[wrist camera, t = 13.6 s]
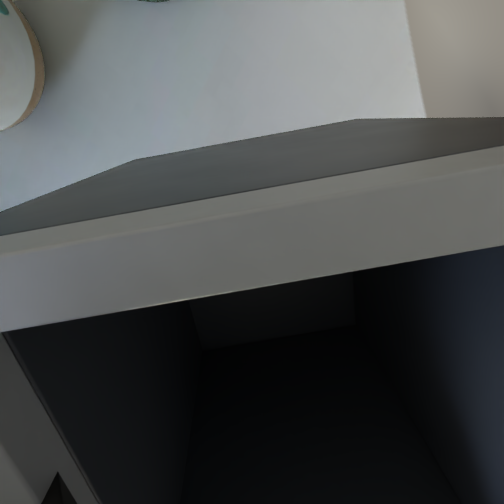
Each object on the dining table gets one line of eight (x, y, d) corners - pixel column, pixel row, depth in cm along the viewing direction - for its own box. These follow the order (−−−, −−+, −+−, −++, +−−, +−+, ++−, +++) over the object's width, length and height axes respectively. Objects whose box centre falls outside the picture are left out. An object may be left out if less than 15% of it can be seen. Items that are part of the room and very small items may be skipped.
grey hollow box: (564, 634, 8) (789, 114, 3) (128, 698, 8) (-204, 290, 4) (366, 325, 20) (358, 118, 15) (192, 354, 20) (133, 159, 16)
